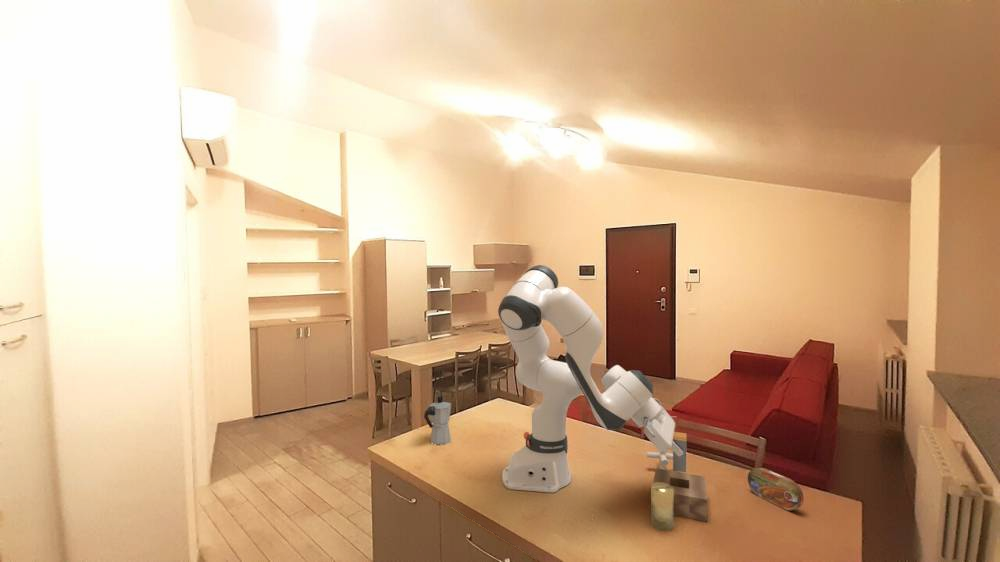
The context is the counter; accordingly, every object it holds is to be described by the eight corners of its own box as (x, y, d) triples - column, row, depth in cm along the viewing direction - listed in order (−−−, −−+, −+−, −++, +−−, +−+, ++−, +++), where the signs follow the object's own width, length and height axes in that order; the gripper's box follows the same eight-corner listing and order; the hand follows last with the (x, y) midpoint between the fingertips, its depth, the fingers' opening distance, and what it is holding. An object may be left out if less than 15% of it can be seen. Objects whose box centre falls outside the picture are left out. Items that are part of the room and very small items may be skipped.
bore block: (652, 510, 121) (652, 489, 120) (655, 487, 133) (655, 468, 133) (706, 521, 115) (707, 499, 115) (705, 496, 128) (705, 476, 127)
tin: (746, 491, 131) (747, 463, 130) (753, 488, 132) (753, 461, 132) (798, 516, 117) (798, 486, 117) (805, 514, 118) (805, 484, 118)
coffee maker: (443, 433, 178) (443, 390, 178) (459, 438, 173) (458, 394, 173) (417, 445, 166) (416, 399, 166) (433, 451, 161) (432, 404, 161)
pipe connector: (681, 479, 138) (681, 448, 138) (649, 476, 140) (649, 446, 140) (675, 465, 148) (675, 436, 148) (645, 462, 150) (645, 434, 150)
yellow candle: (655, 530, 111) (655, 493, 111) (648, 518, 117) (648, 482, 116) (677, 530, 111) (677, 492, 111) (668, 517, 117) (668, 482, 117)
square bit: (672, 470, 122) (672, 435, 122) (673, 465, 126) (673, 431, 125) (686, 472, 121) (686, 437, 121) (686, 467, 124) (686, 433, 124)
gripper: (650, 417, 116) (689, 459, 112) (657, 397, 135) (691, 432, 131) (633, 431, 118) (671, 472, 114) (642, 409, 137) (675, 444, 133)
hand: (681, 451), depth 123 cm, fingers closed on square bit, 3 cm apart
